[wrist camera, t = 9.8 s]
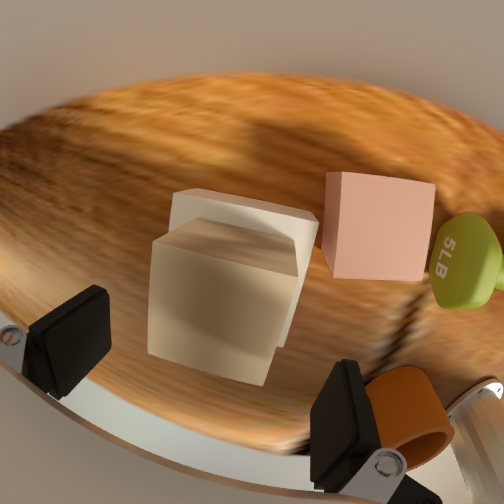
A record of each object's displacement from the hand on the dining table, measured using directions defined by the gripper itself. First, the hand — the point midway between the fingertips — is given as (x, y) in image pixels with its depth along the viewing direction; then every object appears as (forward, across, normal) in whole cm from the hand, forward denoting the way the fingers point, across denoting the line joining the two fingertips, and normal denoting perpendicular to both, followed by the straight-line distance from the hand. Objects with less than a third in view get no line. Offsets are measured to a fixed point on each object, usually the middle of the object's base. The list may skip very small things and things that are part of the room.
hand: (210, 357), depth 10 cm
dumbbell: (+13, -22, -6) cm, 26 cm away
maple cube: (+8, +1, 0) cm, 8 cm away
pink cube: (+13, -7, -6) cm, 16 cm away
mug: (+13, -17, +12) cm, 25 cm away
